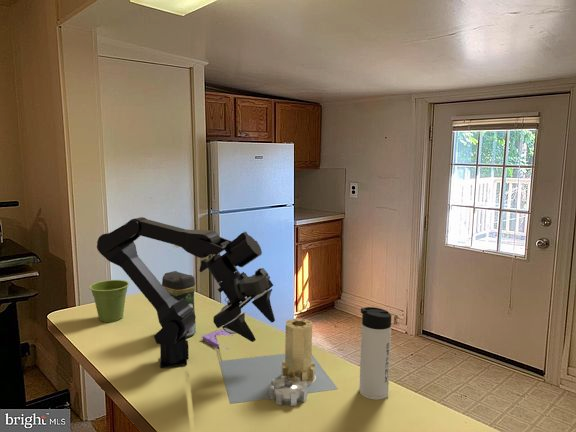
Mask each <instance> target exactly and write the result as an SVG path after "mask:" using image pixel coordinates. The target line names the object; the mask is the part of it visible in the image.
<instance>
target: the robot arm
mask: <svg viewBox="0 0 576 432" xmlns="http://www.w3.org/2000/svg"><path fill="white" fill-rule="evenodd" d="M140 237H145V238H149V239H152V240H156V241H159V242H163V243H166V244H170V245H175V246H178V247H180V248H181V249H182V250H184V251H185V252H186V253H188V254H190V255H192V256H195V257H197V258H199V259H202V260H200V266H199V270H198V271H199V273H203V272H204V271H205V270H208V271H209V272H210V274H211V275H212V277H213V278H214V280H215V281H216V283H217V284H218V286H219V287H218V288H217V291H218V292H219V293H221V292H223V294H224V295H225V297H227V298H226V299H227V300H229V301H230V302H228V303H227V302H226V305H228V307H226V308H225V309H223V310H221V309H220V311H219V312H218V313H216V314H215V315H214V316H213V321H212V322H213V323H214V325H215V327H216V329H220V328H222V330H225V328H227V329H230V330H232V331H234V332H236V334H237V335H240V336H241V337H243V338H244V339H246V340H248V341H250V342H252V343H253V342H255V341H256V337H255V335H254V333H253V331H252V330H251V328H250V327H249V325H248V324H247V322H246V320H245V317H246V315H245V314H246V313H245V312H242V309H243V308H244V307H245V306H246V305H247V304H249V303H250V302H251V304H252V305H254V306H255V308H257V310H258V311H259V312H260V313H261V314H262V315H263V316H264V317H265V318H266V319H267V320H268V321H269V322H270V323H274V322H275V321H276V319H275V316H274V310H273V307H272V305H271V298H270V297H271V294H272V292H273V288H272V287H273V286H274V283H273V282H272V281H271V280H270V278H271V277H270V275H269V273H268V272H267V270H265V268H264V267H262V268H257V270H255V272H254V274H252V275H251V276H248V275H247V273H245V272H244V271H242V272H240V270H239V269H238V268H244V267H245V266H247V265H248V264H250V263H251V262H252V261H254V260H255V259H258V257H261V256H262V254H263V252H262V248H261V246H260V244H259V242H258V241H257V240H255V239H254V238H253V236H251V235H249V234H248V233H247V231H243V232H242V233H240V234H238V236H236V238H234V239H233V240H229V239H226V238H224V237H221V236H220V235H219V233H218V232H216V231H214V230H212V229H211V230H209V229H207V230H206V229H185V228H181V227H178V226H174V225H170V224H167V223H166V224H165V223H163V222H159V221H154V220H152V219H148V218H146V217H143V216H139V217H136V218H132V219H129V220H128V222H126V223H124V224H123V225H121V226H119V227H118V228H116V229H114V230H112V231H110V232H108V233H103V234H101V235H100V236H99V237H98V238H97V241H96V249H97V252H98V253H99V254H101V256H102V257H104V258H105V259H106V260H107V262H109V263H112V264H114V265H117V266H118V267H120V268H121V269H122V270H123V272H124V273H125V274H126V275H127V276H128V277H129V278H130V281H132V282H133V283H134V285H135V286H136V287H137V289H138V290H139V291H140V292H141V293H142V295H143V296H144V297H145V298H146V299H147V301H148V302H149V303H150V304H151V305H152V306H153V308H154V309H155V311H156V313H157V319H158V323H159V324H160V326H161V329H159V331H157V332H156V333H155V334H154V335H153V338H154V340H155V341H154V342H155V343H156V345H159V346H160V347H159V349H160V350H159V351H160V353H159V354H160V356H159V357H160V358H159V368H162V369H164V368H172V367H182V366H186V365H188V360H189V358H190V357H189V340H187V338H186V336H185V335H186V334H188V333H189V330H190V329H191V328H192V327H193V326H194V324H195V322H196V318H197V317H196V313H195V314H194V312H193V310H195V308H194V309H193V308H192V307H190V306H189V304H188V303H187V301H186V300H185V299H184V298H182V299H181V300H179V301H178V300H176V299H174V298H173V297H171V295H170V294H169V293H168V292H167V291H166V289H165V288H164V287H163V286H162V282H160V281H159V280H158V278H157V277H156V275H155V274H154V273H153V272H152V271H151V270H150V269H149V268H148V266H147V265H146V263H144V261H143V260H142V259H141V257H139V255H138V251H137V247H136V243H135V241H136V240H138V239H139V238H140ZM224 251H225V253H224V254H222V255H221V253H223V252H224ZM211 255H213V256H212V257H210V256H211ZM207 257H210V258H209V259H207ZM237 267H238V268H237Z"/></svg>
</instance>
